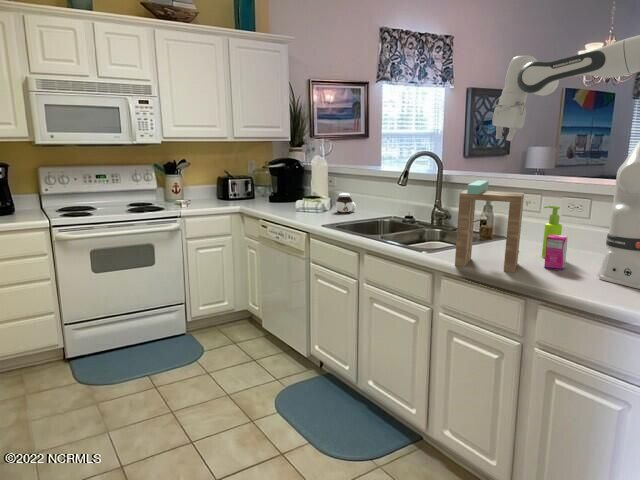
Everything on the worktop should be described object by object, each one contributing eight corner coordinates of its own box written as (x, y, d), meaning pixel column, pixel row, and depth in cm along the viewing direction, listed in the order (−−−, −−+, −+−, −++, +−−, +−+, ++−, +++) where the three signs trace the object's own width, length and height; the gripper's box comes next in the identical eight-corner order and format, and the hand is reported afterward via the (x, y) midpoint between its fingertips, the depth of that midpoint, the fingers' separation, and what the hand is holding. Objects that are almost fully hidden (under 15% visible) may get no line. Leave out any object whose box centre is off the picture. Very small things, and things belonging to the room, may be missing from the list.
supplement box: (547, 264, 177) (551, 234, 175) (565, 267, 174) (569, 236, 172) (543, 268, 173) (546, 236, 171) (561, 270, 169) (564, 238, 167)
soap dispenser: (542, 254, 193) (547, 204, 189) (560, 258, 188) (566, 206, 184) (536, 257, 189) (541, 206, 185) (554, 260, 184) (560, 207, 180)
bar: (477, 188, 190) (477, 180, 189) (488, 188, 188) (488, 180, 188) (467, 193, 169) (467, 184, 168) (479, 194, 167) (479, 185, 166)
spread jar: (335, 213, 297) (335, 194, 295) (337, 210, 308) (338, 192, 306) (354, 214, 295) (355, 194, 293) (356, 211, 306) (357, 193, 304)
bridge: (461, 257, 187) (466, 189, 182) (517, 263, 179) (524, 192, 174) (454, 265, 175) (459, 193, 170) (514, 272, 166) (521, 196, 161)
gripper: (534, 103, 170) (523, 143, 174) (509, 103, 190) (500, 139, 194) (516, 100, 170) (507, 140, 173) (493, 100, 189) (485, 136, 193)
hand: (503, 139), depth 184 cm, fingers open, 8 cm apart
